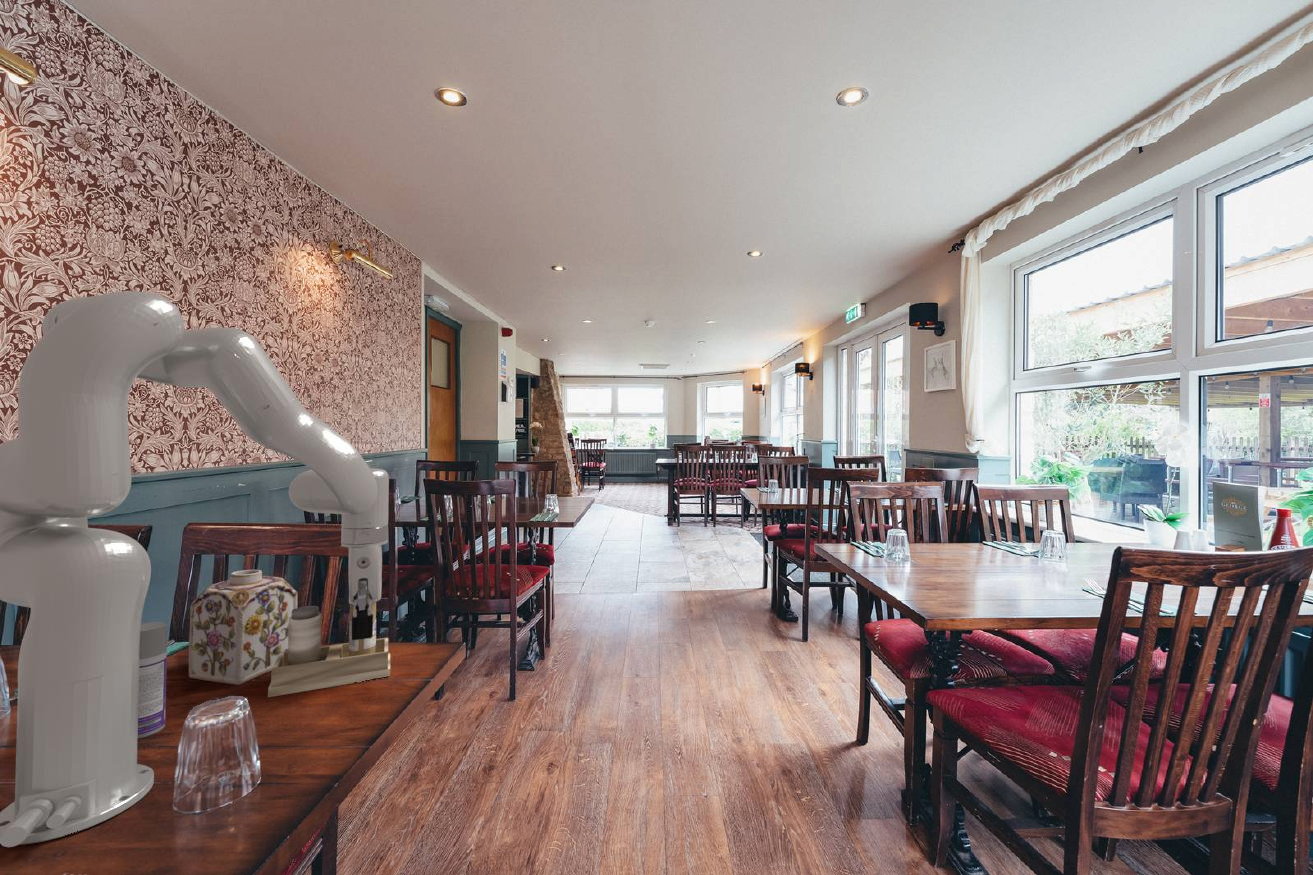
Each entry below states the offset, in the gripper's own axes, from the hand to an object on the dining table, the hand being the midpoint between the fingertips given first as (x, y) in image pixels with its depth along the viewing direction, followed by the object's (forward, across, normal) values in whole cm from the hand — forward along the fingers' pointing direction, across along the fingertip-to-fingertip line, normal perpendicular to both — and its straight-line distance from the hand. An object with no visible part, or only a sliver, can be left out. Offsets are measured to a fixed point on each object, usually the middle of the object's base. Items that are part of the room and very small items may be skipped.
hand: (363, 629), depth 98 cm
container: (+8, -9, +28) cm, 30 cm away
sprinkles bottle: (+6, 0, 0) cm, 7 cm away
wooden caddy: (+8, 0, +4) cm, 9 cm away
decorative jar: (+8, +11, +20) cm, 24 cm away
